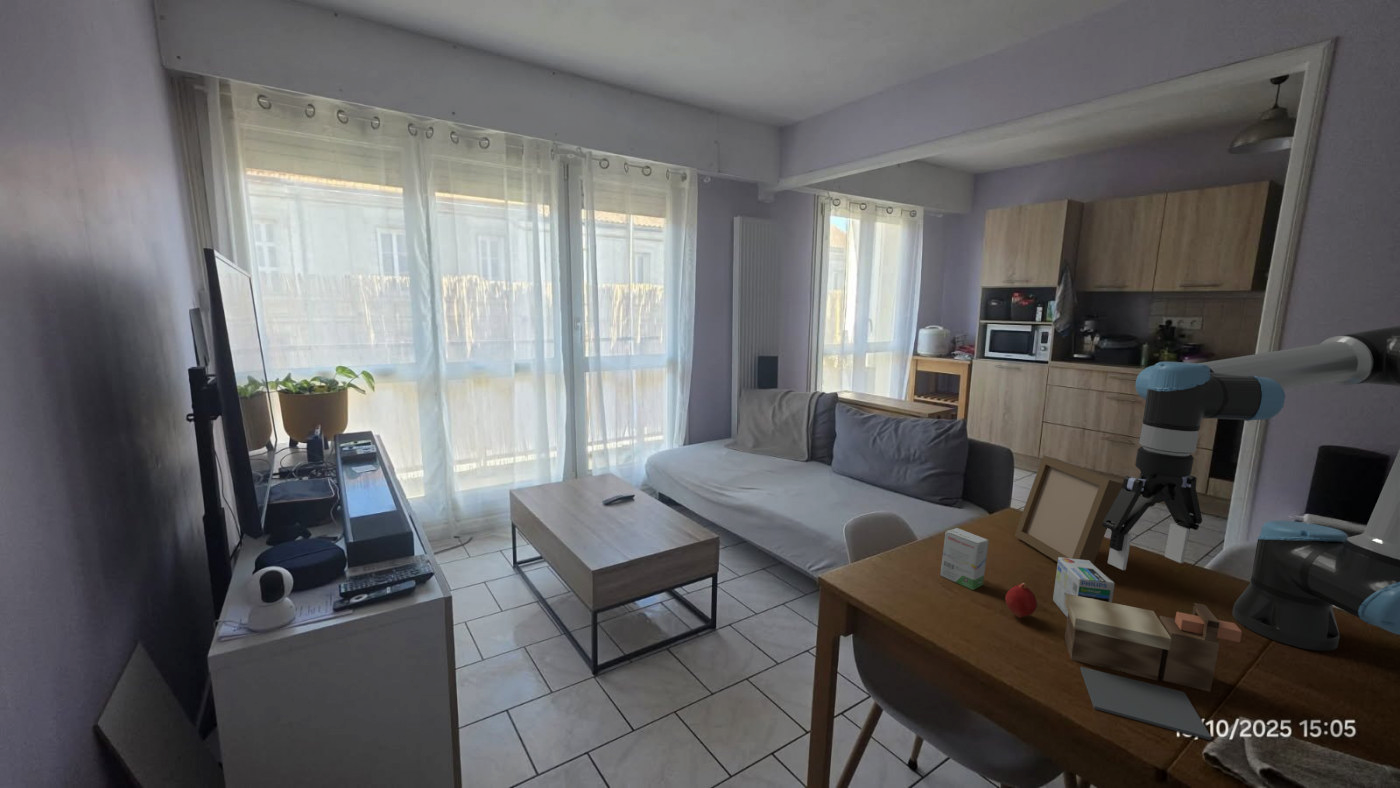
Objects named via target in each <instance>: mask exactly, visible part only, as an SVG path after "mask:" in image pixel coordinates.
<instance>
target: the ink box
mask: <svg viewBox="0 0 1400 788" xmlns="http://www.w3.org/2000/svg"><path fill="white" fill-rule="evenodd" d="M989 542H990V540H989V539H987V538H984V537H982V536H979V535H976V534H973V533H972V532H969V531H966V530H963V529H961V528H958V527H955V528H952V529H949V530H945V534H944V543H943V549H942V550H943V551H942V559H941V567H940V574H939V575H940V576H941V577H943V578H945V579H946V580H947V579H948V580H949V581H951V582H954V583H956V584H958V585H960V586H963V587H965V588H967V589H969V590H971V591H974V590H976V589H978V588H980V587H982V586H983V585H984V581H985V580H984V579H985V570H986V564H987V556H988V549H989V544H990V543H989Z"/></svg>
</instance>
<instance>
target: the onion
mask: <svg viewBox="0 0 1400 788" xmlns="http://www.w3.org/2000/svg"><path fill="white" fill-rule="evenodd" d="M1004 599H1005V604H1006V606H1007V608H1008V609H1009V610H1010V611H1011V612H1012V613H1013V614H1014V615H1015V616H1016V617H1017V618H1018V619H1022V618H1025V617H1027V616H1030V615H1032V614H1033V613H1035V611H1036V610H1037V607H1038V601H1037V599H1036V595H1035V594H1034V593H1033V591H1031V589H1030V588H1028V587H1027V584H1026V583H1024V582H1022V583H1021V584H1020V583H1019V584H1017V585H1014V586H1012V587H1011V588H1010V589H1009V590H1007V592H1006V593H1005V598H1004Z"/></svg>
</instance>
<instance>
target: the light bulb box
mask: <svg viewBox="0 0 1400 788" xmlns="http://www.w3.org/2000/svg"><path fill="white" fill-rule="evenodd" d="M1055 574H1056V575H1055V581H1054V588H1053V589H1054V590H1053V598H1052V601H1053V602H1054V603H1055V605H1056V606H1057V608H1059V609H1060V610H1061V612H1062V613H1063V615H1065V617H1066V618H1067V617H1068V611H1067V608H1066V606H1065V597H1066V594H1071V595H1076V596H1081V597H1086V598H1091V599H1096V600H1101V601H1106V602H1111V603H1113V597H1114V591H1115V582H1114V581H1113V580H1112V579H1111V578H1109V577H1108V576H1107V575H1106V574H1104V573H1103V572H1102V570H1100V569H1099V568H1098V567H1097V566H1096V565H1095V564H1092V563H1091V562H1090V561H1089V560H1080V559H1070V558H1063V557H1058V562H1057V566H1056V573H1055Z"/></svg>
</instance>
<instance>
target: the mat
mask: <svg viewBox="0 0 1400 788" xmlns="http://www.w3.org/2000/svg"><path fill="white" fill-rule="evenodd" d="M1080 671H1081V675H1082V679H1083V680H1084V684H1085V686H1086V690H1087V693H1088V696H1089V697H1090V701H1091V704H1092V708H1093V709H1095V710H1098V711H1101V712H1105V713H1108V714H1111V715H1114V716H1115V715H1116V716H1118V717H1119V716H1120V717H1123V718H1127V719H1130V720H1135V721H1139V722H1141V723H1145V724H1150V725H1153V726H1156V727H1159V728H1164V729H1168V730H1171V731H1175V732H1180V733H1183V734H1186V735H1190V736H1193V737H1197V738H1201V739H1204V740H1208V741H1212V738H1213V737H1212V735H1211V734H1210V732H1209V731H1208V729H1207V727H1206V726H1205V724H1204V722H1203V721H1202V719H1201V717H1200V715H1199V714H1198V713H1197V711H1196V709H1195V707H1194V706H1193V704H1192V702H1191V701H1190V699H1189V698H1188V695H1187V693H1185V691H1182V690H1181V691H1180V690H1177V689H1174V688H1170V687H1164V686H1161V685H1157V684H1153V683H1148V682H1144V681H1140V680H1137V679H1133V678H1128V677H1125V676H1120V675H1115V674H1112V673H1107V672H1104V671H1100V670H1096V669H1091V668H1087V667H1083V666H1080Z"/></svg>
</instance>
